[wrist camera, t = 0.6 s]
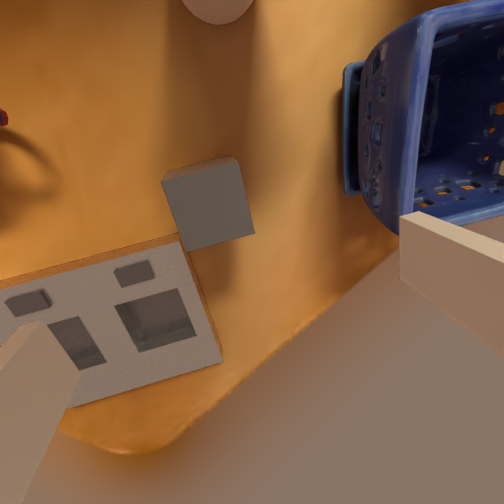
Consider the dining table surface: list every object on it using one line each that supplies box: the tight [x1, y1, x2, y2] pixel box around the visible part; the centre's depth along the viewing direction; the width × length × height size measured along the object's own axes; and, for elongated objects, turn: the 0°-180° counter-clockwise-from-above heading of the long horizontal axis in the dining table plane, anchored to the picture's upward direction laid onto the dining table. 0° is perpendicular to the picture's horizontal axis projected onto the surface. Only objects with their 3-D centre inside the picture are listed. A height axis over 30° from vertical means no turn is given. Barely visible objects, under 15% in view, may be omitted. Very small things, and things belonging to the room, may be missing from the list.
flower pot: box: [342, 0, 504, 236], centre depth 23 cm, size 13×13×12 cm
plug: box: [161, 155, 255, 252], centre depth 23 cm, size 5×5×10 cm
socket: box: [0, 233, 223, 409], centre depth 30 cm, size 16×20×3 cm
